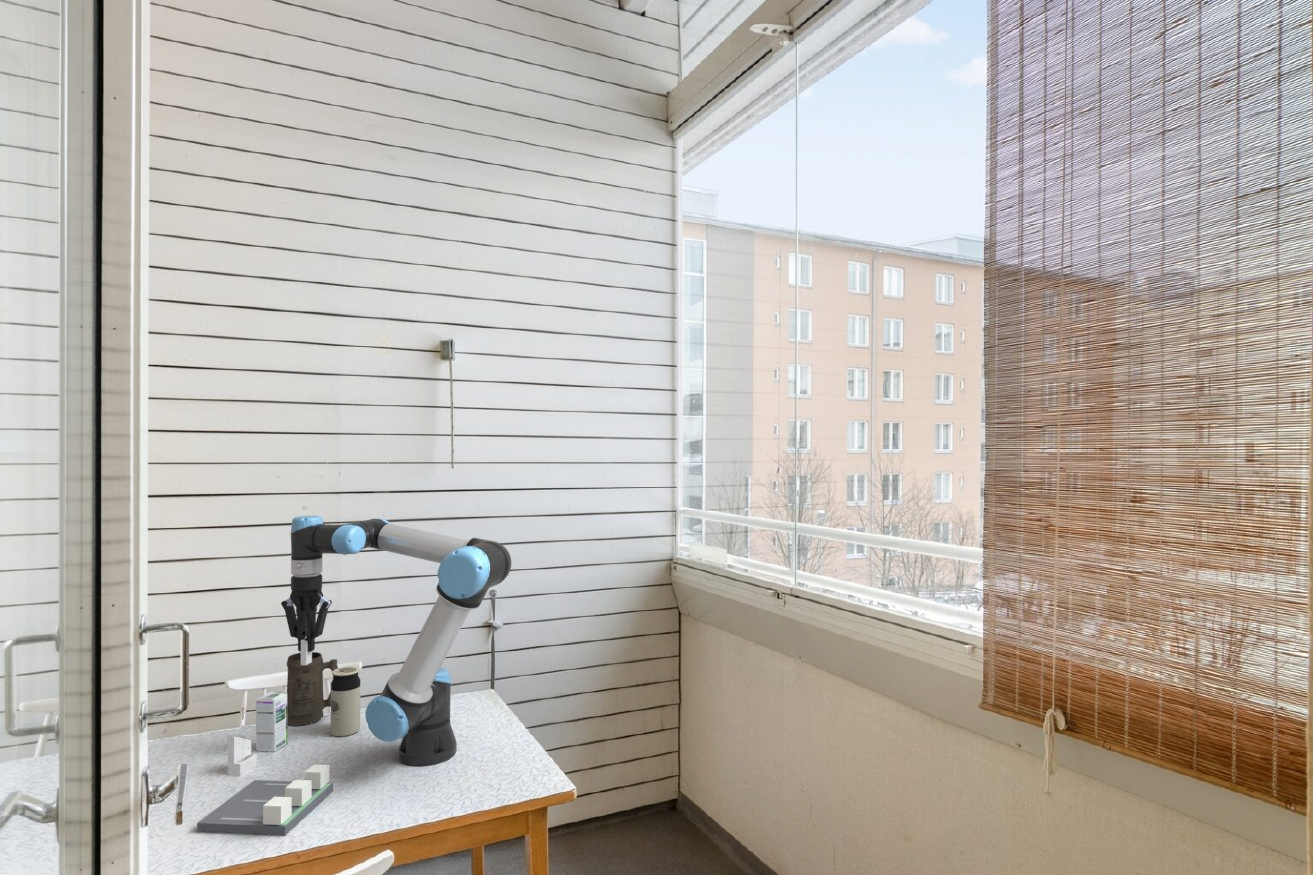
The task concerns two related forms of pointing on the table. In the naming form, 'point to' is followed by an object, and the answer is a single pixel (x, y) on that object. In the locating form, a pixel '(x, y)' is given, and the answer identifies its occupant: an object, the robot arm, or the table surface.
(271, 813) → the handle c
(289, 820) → the grey striped board
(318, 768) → the white cubic piece
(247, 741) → the white wedge bracket
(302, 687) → the beer stein
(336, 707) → the travel mug
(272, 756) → the table surface
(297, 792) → the white cubic block
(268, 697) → the syrup box
